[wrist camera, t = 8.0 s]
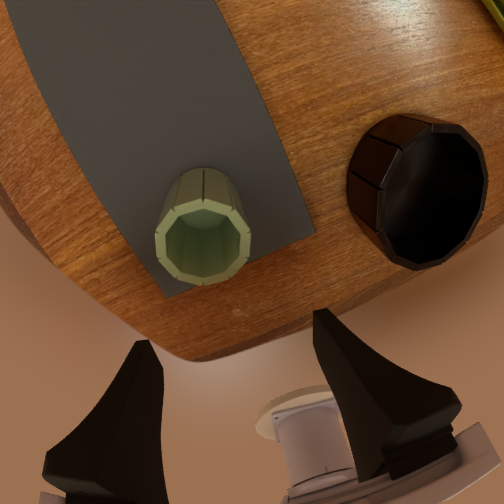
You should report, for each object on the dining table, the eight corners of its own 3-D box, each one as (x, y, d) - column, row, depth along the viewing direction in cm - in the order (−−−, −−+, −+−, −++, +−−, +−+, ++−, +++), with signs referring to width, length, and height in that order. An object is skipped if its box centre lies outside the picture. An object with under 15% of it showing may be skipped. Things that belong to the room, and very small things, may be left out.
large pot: (443, 230, 24) (474, 255, 20) (345, 250, 23) (370, 283, 19) (454, 116, 18) (493, 128, 15) (343, 114, 18) (378, 122, 14)
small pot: (246, 221, 20) (261, 270, 15) (180, 240, 20) (174, 294, 15) (228, 158, 18) (238, 187, 13) (158, 180, 18) (139, 218, 13)
